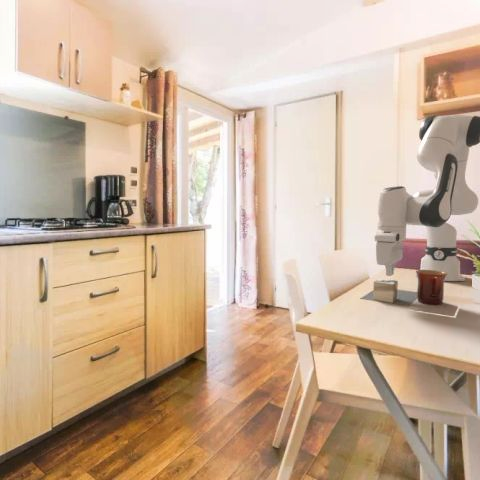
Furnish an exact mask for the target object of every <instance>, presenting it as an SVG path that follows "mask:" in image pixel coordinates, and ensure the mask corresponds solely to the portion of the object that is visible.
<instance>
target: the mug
mask: <svg viewBox="0 0 480 480" xmlns="http://www.w3.org/2000/svg"><path fill="white" fill-rule="evenodd" d="M415 273H416V274H417V276H416V277H417V291H416V292H417V302H419V303H420V304H424V305H430V306H431V305H432V306H439V305H443V301H444V298H445V297H444V293H445V288H444V286H445V282H446V281H445V278H446V276H447V273H446V272H442V271H435V270H420V269H418V270H415ZM416 274H415V275H416Z"/></svg>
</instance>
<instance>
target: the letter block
mask: <svg viewBox="0 0 480 480" xmlns="http://www.w3.org/2000/svg"><path fill="white" fill-rule="evenodd" d="M398 285H399V281H398V280H391V279H382V278H378V279H376V280H374V281H373V290H372V291H373V300H380V301H386V302H394V301H395V300H396V299H397V290H399V289H398V287H399V286H398Z"/></svg>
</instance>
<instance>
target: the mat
mask: <svg viewBox="0 0 480 480" xmlns="http://www.w3.org/2000/svg"><path fill="white" fill-rule="evenodd" d="M359 299H360V300H366V301H373V302H378V303H379V302H380V303H386V304H390V305H398V306H405V307H410V306H411V305H413V303H414V302H415V301H416V299H417V300H418V298H417V291H410V290H403V289H397V299H396V300H395V301H394V302H386V301H380V300H373V290H372V291H370V292H367V294H365V295H363V296H362V297H360V298H359Z"/></svg>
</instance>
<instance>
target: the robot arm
mask: <svg viewBox="0 0 480 480" xmlns="http://www.w3.org/2000/svg"><path fill="white" fill-rule="evenodd" d="M418 130H419V131H418V134H419V135H418V136H419V139H420V141H421V142H420V144H419V146H418V149H417V151H416V152H417V153H416V159H417V162H418V163H419V164H420V166H421V167H423V169H425V170H427V171H429V172H433V175H434V178H435V179H436V181H435V186H434V189H425V190H420V191H416V192H415V193H414V194H413V195H412V194H409V193H408V191H407V189H406V187H405V186H402V185H401V186H399V185H397V186H391V187H385V188H384V189H382V190H381V191H380V195H379V198H378V209H377V213H378V223H377V230H376V233H375V234H374V241H375V242H376V243H375V256H376V257H375V259H376V263H377V265H379V266H384V267H385V275H386V276H387V277H392V276H394V273H395V272H394V271H395V267H396V263H397V262H398V261H401V260H402V259H403V256H404V255H403V252H404V251H403V249H404V247H403V245H404V244H403V241H404V242H405V241H407V240H406V239H407V226H425V228H426V246H425V248H424V252H425V255H424V256H423V257H422V258H421V261H420V269H419V270H435V271H442V272H446V273H447V276H446V278H445V281H444V282H465V281H466V278H465V277H464V276H463V274H461V272H462V270H461V261H460V260H459V259H458V258H457V255H458V247H457V229H456V227H455V226H453V225H452V224H451V223H448V220H449V219H450V218H451V216H463V215H469V214H472V213H474V212H475V211H476V209H477V208H478V206H479V197H478V195H477V193H475V191H474V190H472V189H471V188H470V187H469V186H468V184H467V182H466V171H467V163H468V160H469V159H468V158H469V153H470V148H472V147H474V146H477V145H478V144H480V116H479V115H478V116H477V115H474V116H473V115H464V114H454V115H453V114H452V115H450V114H449V115H432V116H428V117H425V118H424V119H423V121H422V122H421V124H420V127H419V129H418ZM415 276H416V277H417V274H415Z"/></svg>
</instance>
